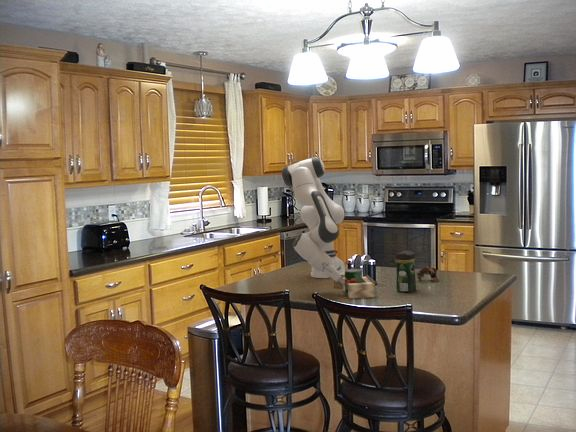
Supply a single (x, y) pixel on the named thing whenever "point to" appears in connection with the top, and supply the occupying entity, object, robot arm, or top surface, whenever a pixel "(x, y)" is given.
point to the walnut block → (338, 284)
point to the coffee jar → (405, 271)
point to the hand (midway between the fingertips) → (343, 282)
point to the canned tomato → (352, 277)
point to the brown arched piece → (427, 271)
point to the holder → (361, 288)
